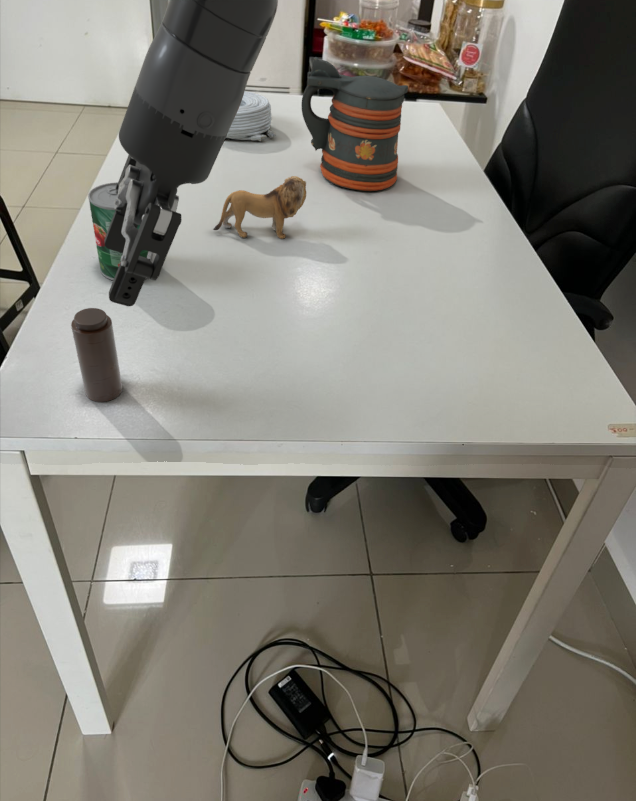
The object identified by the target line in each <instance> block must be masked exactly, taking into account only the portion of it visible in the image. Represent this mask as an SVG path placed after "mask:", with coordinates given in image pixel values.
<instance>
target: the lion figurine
mask: <svg viewBox="0 0 636 801" xmlns="http://www.w3.org/2000/svg"><path fill="white" fill-rule="evenodd" d="M306 186H307V181H306V180H304V179H303V178H301V177H299V176H297V175H292V176H289V177H287V178H284V181H283V183H282V184H279V185H278V186H277V187H275V188H274V189H273V190H271V191H270V192H268V193H265V194H259V193H253V192H250V191H248V190H242V189H241V190H236V191H233V192H231V193H230V194H229V195H228V196H227V197H226V199H225V200H224V203H223V207H222V211H221V215H220V219H219V222H218V223H217V224H216V225H215V227H214V228H213V229H212V230H213V231H219V230H220V228H222V225H223V227H224V228H226V229H230V228H232V226H233V225H232V223H231V222H229V220H230V218H233V217H234V218H235V222H234V229H235V230H236V232H237V234H238V236H239V237H240V238H247V237H248V232H247V231H243V228H242V224H243V221H244V219H245V216H246V212H247V213H249V214H250V215H252V216H254V217H255V218H259V219H272V223H271V227H272V229H273V231H275V233H276V236H277V238H279V239H280V240H282V239H285V238H286V233H285V232H283V229H284V225H285V220H286V219H288V218H294V216H296V214H297V212H298V210H300V209H301V208H302V206H303V205H304V204H305V201H306V199H307V187H306ZM229 205H230V206H229Z"/></svg>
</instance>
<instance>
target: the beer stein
mask: <svg viewBox="0 0 636 801" xmlns="http://www.w3.org/2000/svg"><path fill="white" fill-rule="evenodd" d="M312 59H313V60H312V64H311V71H307V75H306V76H307V77H306V78H307V80H306V87H305V89H304V92H303V94H302V97H301V116H302V118H303V121H304V123H305V125H306V126H305V127H306V128H307V130H308V131H309V133H310V136H311V137H312V139H311V140H310V144H311V146H312V147H313V148H314V150H315V151H318V150H321V153H322V156H321V157H320V165H319V167H320V171H321V174H322V176H323V178H324V179H325V180H327V181H328V182H330V183H331V184H332V185H335V186H337V187H340V188H343V189H348V190H353V191H361V192H379V191H384V190H387V189H389V188H391V187H393V185H394V184H395V183H396V181H397V180H398V168H399V165H398V164H399V154H398V145H399V133H400V131H401V125H402V108H403V103H404V101H405V94H407V93H408V90H409V85H407V84H403V85H398V84H396V83H395V82H392V81H391V80H390V81H389V80H387V79H384V78H382V77H378V76H373V75H357V76H356V75H355V76H349V75H345V74H340V73H339V71H338V69H337V68H336V67H335V66H334V64H332V63H331V62H329V61H327V60H324V59H322V58H321V59H320V58H319V57H317V56H315V57H314V58H312ZM321 89H326V90H329V91H331V92H332V93H333V95H332V98H331V105H330V106H329V111H330V112H329V113H328V115H327V118H326V117H325V118H324V117H321V116H319V115H317V114H316V113H315V112H314V111H313V108H312V98H313V96H314V94H315V93H316V92H317V91H318V90H321Z"/></svg>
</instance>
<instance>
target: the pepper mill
mask: <svg viewBox="0 0 636 801" xmlns="http://www.w3.org/2000/svg"><path fill="white" fill-rule="evenodd" d="M113 327H114V326H113V321H112V318H111V317H110V315H108V314H107V312H105V310H103V309H102V308H96V307H88V308H84V309H83V308H82V309H81V310H79V311H77V312H76V313H75V314H74V317H73V320H72V321H71V323H70V328H71V332H72V338H73V341H74V345H75V346H74V347H75V350H76V356H77V360H78V365H79V370H80V375H81V380H82V383H83V388H84V393H85V395H86V397H87V398H88V399H89V400H91V401H93V402H96V403H105V402H110V401H113V400H116V399H117V398H118V397H119V396H120V395H121V394H122V392H123V384H122V382H123V381H122V377H121V371H120V366H119V365H120V364H119V357H118V352H117V346H116V339H115V338H116V337H115V334H114V333H115V332H114V328H113Z"/></svg>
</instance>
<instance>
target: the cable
mask: <svg viewBox="0 0 636 801" xmlns="http://www.w3.org/2000/svg"><path fill="white" fill-rule="evenodd" d="M272 119H273V118H272V105H271V103H270V101H269V99H268V98H267V97H265V96H264V95H262V94H259V93H256V92H252V91H247V90H245V92H244V95H243V98H242V101H241V104H240V106H239V109H238V111H237V113H236V116H235V118H234V120H233V122H232V125H231V127H230V129H229V131H228V134H227V136H226V138H225V139H231V140H239V141H258V142H262V140H264V139H267V138H268V137H269V139H273V138H275V136H276V134H275V133H274V131H272V130H270V129H271V124H272ZM264 133H265V134H264Z"/></svg>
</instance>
